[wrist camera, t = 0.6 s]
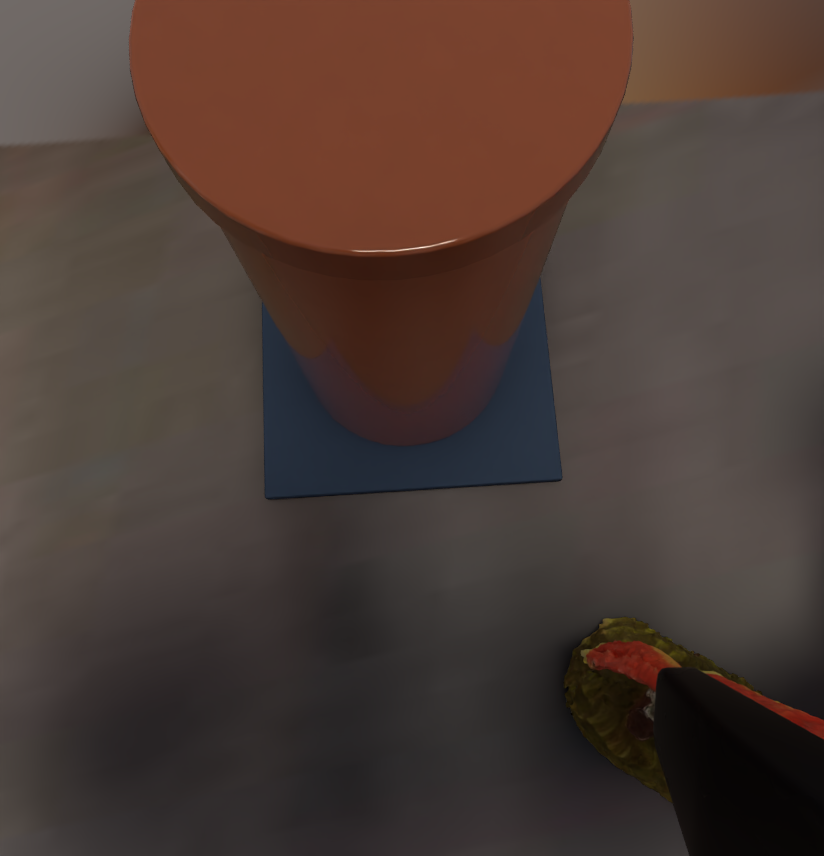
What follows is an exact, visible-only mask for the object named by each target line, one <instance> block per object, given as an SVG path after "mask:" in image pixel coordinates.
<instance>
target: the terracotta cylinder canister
mask: <svg viewBox="0 0 824 856" xmlns="http://www.w3.org/2000/svg"><path fill="white" fill-rule="evenodd" d="M633 39H634V38H633V25H632V13H631V6H630V1H629V0H135V3H134V6H133V10H132V16H131V26H130V35H129V56H130V72H131V77H132V82H133V87H134V92H135V97H136V101H137V103H138V106H139V109H140V111H141V114H142V117H143V120H144V122H145V125H146V127H147V129H148V131H149V132H150V134H151V136H152V138H153V140H154V141H155V143H156V145H157V147H158V149H159V151H160V152H161V154H162V156H163V157H164V159H165V161H166V162H167V164H168V166H169V167H170V169H171V170H172V172H173V174H174V175H175V177H176V179H177V180H178V182H179V183H180V184H181V186H182V187H183V188H184V190H185V191H186V192H187V193H188V195H189V196H190V197H191V199H192V200H193V201H194V203H195V204H196V205H197V206H198V207H199V208H200V209H201V210H202V211H204V212H205V213H206V214H207V215H208V216H209V217H210V218H211V219H212V220H213V221H214V222H215V223H216V224H217V225H218V226H220V227H221V229H222V231H223V233H224V234H225V236H226V238H227V240H228V241H229V243H230V245H231V247H232V249H233V250H234V252H235V254H236V256H237V257H238V259H239V261H240V263H241V265H242V266H243V268H244V270H245V272H246V273H247V275H248V277H249V279H250V281H251V282H252V284H253V286H254V288H255V289H256V291H257V293H258V295H259V297H260V298H261V300H262V302H263V304H264V305H265V307H266V309H267V311H268V312H269V314H270V316H271V318H272V320H273V321H274V323H275V325H276V327H277V328H278V330H279V332H280V334H281V336H282V337H283V339H284V341H285V343H286V344H287V346H288V348H289V350H290V352H291V353H292V355H293V357H294V359H295V360H296V362H297V364H298V366H299V367H300V369H301V371H302V373H303V375H304V376H305V378H306V380H307V382H308V383H309V385H310V387H311V389H312V391H313V392H314V394H315V396H316V398H317V399H318V401H319V402H320V404H321V405H322V406H323V408H324V409H325V410H326V412H327V413H328V414H329V415H330V416H331V417H332V418H333V419H334V420H335V421H337V422H338V423H339V424H341V425H342V426H343V427H345V428H346V429H347V430H349V431H351V432H353V433H354V434H356V435H358V436H360V437H363V438H365V439H368V440H370V441H374V442H378V443H382V444H387V445H395V446H413V445H421V444H427V443H431V442H434V441H438V440H441V439H443V438H446V437H448V436H450V435H452V434H454V433H456V432H458V431H459V430H461V429H463V428H464V427H465V426H467V425H468V424H469V423H471V422H472V421H473V420H474V419H475V418H476V417H477V416H478V415H479V414H480V413H481V412H482V411H483V410H484V409H485V408H486V406H487V405H488V404H489V402H490V401H491V400H492V398H493V396H494V394H495V393H496V391H497V389H498V387H499V384H500V382H501V379H502V377H503V374H504V371H505V369H506V366H507V363H508V361H509V358H510V355H511V353H512V350H513V347H514V345H515V342H516V339H517V337H518V334H519V331H520V329H521V326H522V323H523V321H524V318H525V315H526V313H527V310H528V307H529V305H530V302H531V299H532V297H533V294H534V291H535V289H536V286H537V283H538V281H539V278H540V275H541V273H542V270H543V267H544V265H545V262H546V259H547V257H548V254H549V251H550V249H551V246H552V244H553V241H554V238H555V236H556V233H557V230H558V228H559V225H560V222H561V220H562V217H563V214H564V212H565V209H566V206H567V204H568V201H569V199H570V198H571V197H572V195H573V194H574V193H575V192H576V190H577V189H578V188H579V187H580V185H581V184H582V183H583V182H584V180H585V179H586V178H587V176H588V174H589V173H590V171H591V169H592V168H593V166H594V164H595V162H596V161H597V159H598V157H599V156H600V154H601V152H602V149H603V147H604V145H605V142H606V140H607V137H608V135H609V132H610V130H611V127H612V125H613V123H614V120H615V118H616V115H617V113H618V110H619V108H620V105H621V103H622V100H623V98H624V95H625V91H626V87H627V83H628V79H629V74H630V70H631V64H632V52H633Z"/></svg>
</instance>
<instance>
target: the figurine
mask: <svg viewBox="0 0 824 856" xmlns="http://www.w3.org/2000/svg"><path fill="white" fill-rule="evenodd" d="M572 655H573V656H572V658H571V660H570V666H569V668H568V671H567V674H566V675H565V676H564V688H566V687H567V686H568V687H569V689H568V691H567V692H566V693H565V697H566V699H567V702H566V707H567V708H568V707H570V708H571V712H572V713H571V715H572V716H573V718H574V720H575V721H576V724H577V726H578V727H579V729H580V731H581V732H582V733H583V736H584V737H585V738H587V739H588V741H589V742H590V743H591V744H593V746H594V747H595V748H596V750H597V751H598V752H599V753H600V754H601V755H603V756H605V757H606V758H608V759H609V760H610V762H611V763H612V764H614V765H615V766H616V767H617V768H619V769H621V770H623V771H624V772H625V773H626V774H628V775H631V776H633V777H635V778H636V779H638V780H640V782H641V783H642V784H643V785H645V786H647V787H649V788H650V789H653V790H655V791H657V792H659V793H660V795H661V796H662V797H665V798H666V799H667V800H668V801H669V802H672V799H671V796H670V792H669V789H668V786H667V783H666V780H665V777H664V773H663V770H662V767H661V764H660V761H659V758H658V755H657V751H656V747H655V742H654V734H653V725H654V709H655V694H656V680H657V676H658V673H659V671H660V670H661V669H662V668H667V667H693V668H696V669H698V670H700V671H702V672H704V673H705V674H707V675H709V676H711V677H713V678H714V679H716V680H718V681H720V682H722V683H723V684H725V685H727V686H729V687H731V688H732V689H734V690H736V691H738V692H740V693H741V694H743V695H745V696H747V697H749V698H750V699H752V700H754V701H756V702H757V703H759V704H761V705H763V706H765V707H766V708H768V709H770V710H772V711H774V712H775V713H777V714H779V715H781V716H783V717H784V718H786V719H788V720H790V721H792V722H793V723H795V724H797V725H799V726H801V727H802V728H804V729H806V730H808V731H809V732H811V733H813V734H815V735H817V736H818V737H820V738H822V739H824V720H822V719H820V718H818V717H814V716H811V715H809V714H808V713H806V712H804V711H801V710H798V709H793V708H792V707H789V706H787V705H784V704H782V703H780V702H779V701H773V700H771V699H769V698H766V697H765V696H763V695H762V692H761V691H759V690H757V691H754V687H753V686H752V685H750V684H749V683H748V682H746V680H745V679H744V677H738V676H737V675H736V674H733V673H732V674H729V673H727V672H726V671H725V670H724V669H723V668H719V667H718V666H716V665H715V663H714V662H713V661H712V660H710V659H707V658H706V657H704V656H702V655H700V654H699V653H698V654H694V651H691V652H690V651H688V650H687V649H686V648H684V647H683V646H682V645H676V644H674V643H673V642H672V639H669V638H668V637H661V636H660V633H659V632H655V630H653V629H649V627H648V623H643V622H642V621H637V620H636V618H628V617H623V618H622V617H621V618H615V619H609V618H605V619H603V624H599V629H598V630H597V631H596V632H594V633H593V634H592V635H591V636H590V637H587V638H585V639H583V640H582V643H581V645H580V646H578V647H577V648H575V649H574V650H573V653H572ZM672 803H673V802H672Z"/></svg>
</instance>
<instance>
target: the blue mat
mask: <svg viewBox="0 0 824 856" xmlns="http://www.w3.org/2000/svg"><path fill="white" fill-rule="evenodd" d="M262 336H263V405H264V473H265V498H266V499H284V498H300V497H316V496H331V495H347V494H363V493H379V492H395V491H410V490H426V489H442V488H458V487H474V486H489V485H505V484H521V483H537V482H552V481H560V480H561V479H562V470H561V461H560V452H559V443H558V433H557V424H556V415H555V406H554V397H553V388H552V379H551V370H550V361H549V352H548V343H547V334H546V325H545V316H544V307H543V298H542V289H541V280H540V278H539V281H538V283H537V286H536V289H535V291H534V294H533V297H532V299H531V302H530V305H529V307H528V310H527V313H526V315H525V318H524V321H523V323H522V326H521V329H520V331H519V334H518V337H517V339H516V342H515V345H514V347H513V350H512V353H511V355H510V358H509V361H508V363H507V366H506V369H505V371H504V374H503V377H502V379H501V382H500V384H499V387H498V389H497V391H496V393H495V394H494V396H493V398H492V400H491V401H490V402H489V404H488V405H487V406H486V408H485V409H484V410H483V411H482V412H481V413H480V414H479V415H478V416H477V417H476V418H475V419H474V420H473V421H472V422H471V423H469V424H468V425H467V426H465V427H464V428H463V429H461V430H459V431H458V432H456V433H454V434H452V435H450V436H448V437H446V438H443V439H441V440H438V441H434V442H431V443H427V444H421V445H413V446H395V445H387V444H382V443H378V442H374V441H370V440H368V439H365V438H363V437H360V436H358V435H356V434H354V433H353V432H351V431H349V430H347V429H346V428H345V427H343V426H342V425H341V424H339V423H338V422H337V421H335V420H334V419H333V418H332V417H331V416H330V415H329V414H328V413H327V412H326V410H325V409H324V408H323V406H322V405H321V404H320V402H319V401H318V399H317V398H316V396H315V394H314V392H313V391H312V389H311V387H310V385H309V383H308V382H307V380H306V378H305V376H304V375H303V373H302V371H301V369H300V367H299V366H298V364H297V362H296V360H295V359H294V357H293V355H292V353H291V352H290V350H289V348H288V346H287V344H286V343H285V341H284V339H283V337H282V336H281V334H280V332H279V330H278V328H277V327H276V325H275V323H274V321H273V320H272V318H271V316H270V314H269V312H268V311H267V309H266V307H265V305H264V304H263V302H262Z"/></svg>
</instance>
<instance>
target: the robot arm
mask: <svg viewBox="0 0 824 856" xmlns="http://www.w3.org/2000/svg"><path fill="white" fill-rule="evenodd" d="M653 734H654V742H655V747H656V751H657V755H658V758H659V761H660V764H661V767H662V770H663V773H664V777H665V780H666V783H667V786H668V789H669V792H670V796H671V799H672V802H673V805H674V808H675V811H676V815H677V818H678V821H679V824H680V827H681V830H682V834H683V837H684V840H685V843H686V846H687V849H688V852H689V856H824V739H822V738H820V737H818V736H817V735H815V734H813V733H811V732H809V731H808V730H806V729H804V728H802V727H801V726H799V725H797V724H795V723H793V722H792V721H790V720H788V719H786V718H784V717H783V716H781V715H779V714H777V713H775V712H774V711H772V710H770V709H768V708H766V707H765V706H763V705H761V704H759V703H757V702H756V701H754V700H752V699H750V698H749V697H747V696H745V695H743V694H741V693H740V692H738V691H736V690H734V689H732V688H731V687H729V686H727V685H725V684H723V683H722V682H720V681H718V680H716V679H714V678H713V677H711V676H709V675H707V674H705V673H704V672H702V671H700V670H698V669H696V668H693V667H667V668H662V669H661V670H660V671H659V673H658V676H657V680H656V694H655V709H654V725H653Z"/></svg>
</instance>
